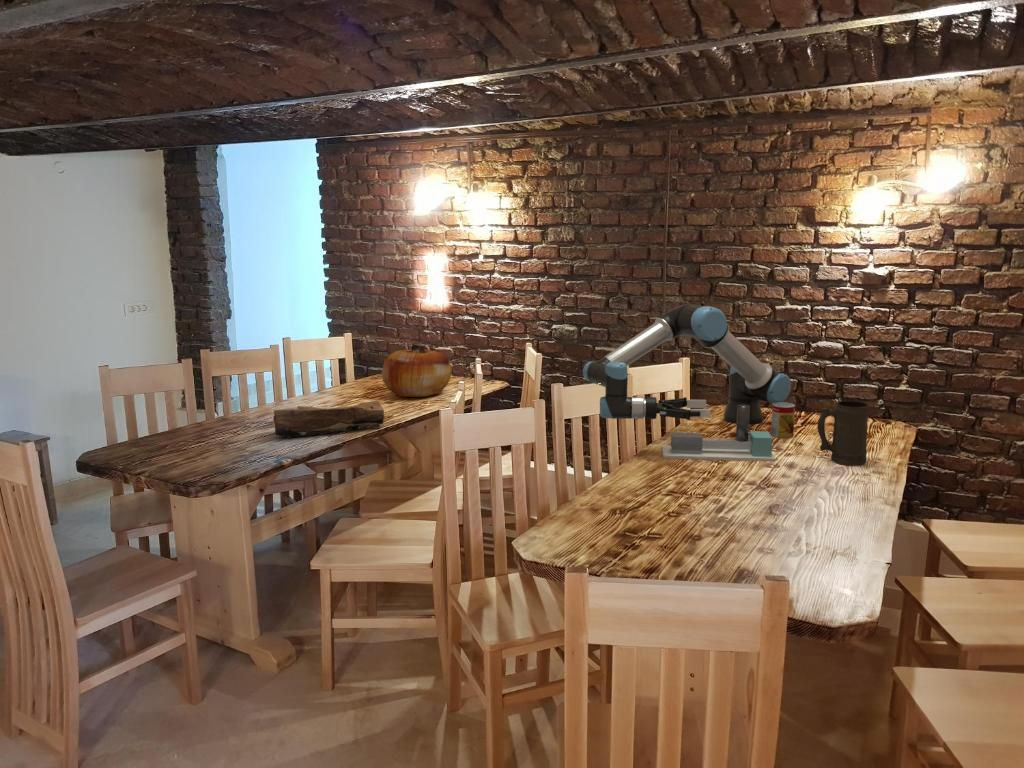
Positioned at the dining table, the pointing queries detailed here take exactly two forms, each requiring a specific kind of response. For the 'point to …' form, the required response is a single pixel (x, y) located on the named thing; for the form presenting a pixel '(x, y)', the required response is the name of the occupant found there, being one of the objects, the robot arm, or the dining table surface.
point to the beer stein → (846, 432)
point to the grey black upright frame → (741, 434)
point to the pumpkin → (416, 372)
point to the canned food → (782, 420)
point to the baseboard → (716, 455)
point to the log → (327, 419)
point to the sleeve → (686, 443)
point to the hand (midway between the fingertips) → (708, 408)
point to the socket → (761, 443)
